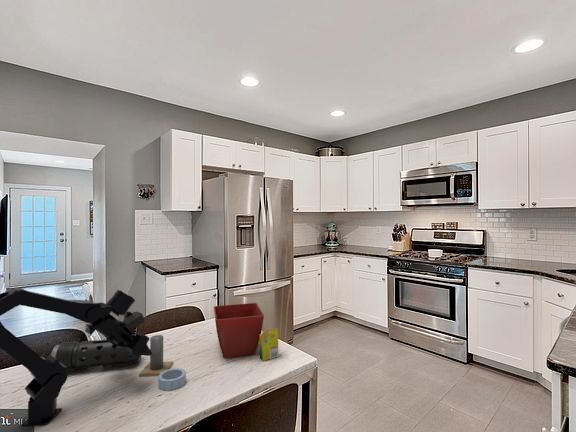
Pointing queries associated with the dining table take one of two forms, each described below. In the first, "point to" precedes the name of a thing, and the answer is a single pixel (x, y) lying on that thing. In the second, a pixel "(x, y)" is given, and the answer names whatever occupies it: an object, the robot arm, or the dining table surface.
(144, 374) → the mat
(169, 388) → the collar
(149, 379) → the dining table surface
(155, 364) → the plug
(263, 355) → the crayon box
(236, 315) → the plant pot
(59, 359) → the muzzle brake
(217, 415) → the dining table surface
